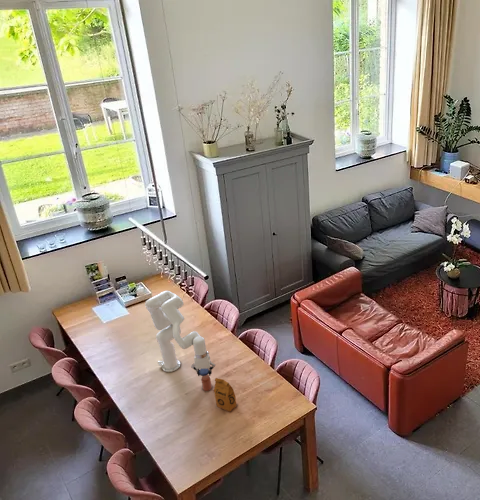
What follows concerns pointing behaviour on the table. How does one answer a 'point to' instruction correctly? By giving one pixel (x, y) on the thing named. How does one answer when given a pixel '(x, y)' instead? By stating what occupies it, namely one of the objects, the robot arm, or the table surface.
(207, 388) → the jar
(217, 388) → the coffee package
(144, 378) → the table surface
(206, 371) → the lid
